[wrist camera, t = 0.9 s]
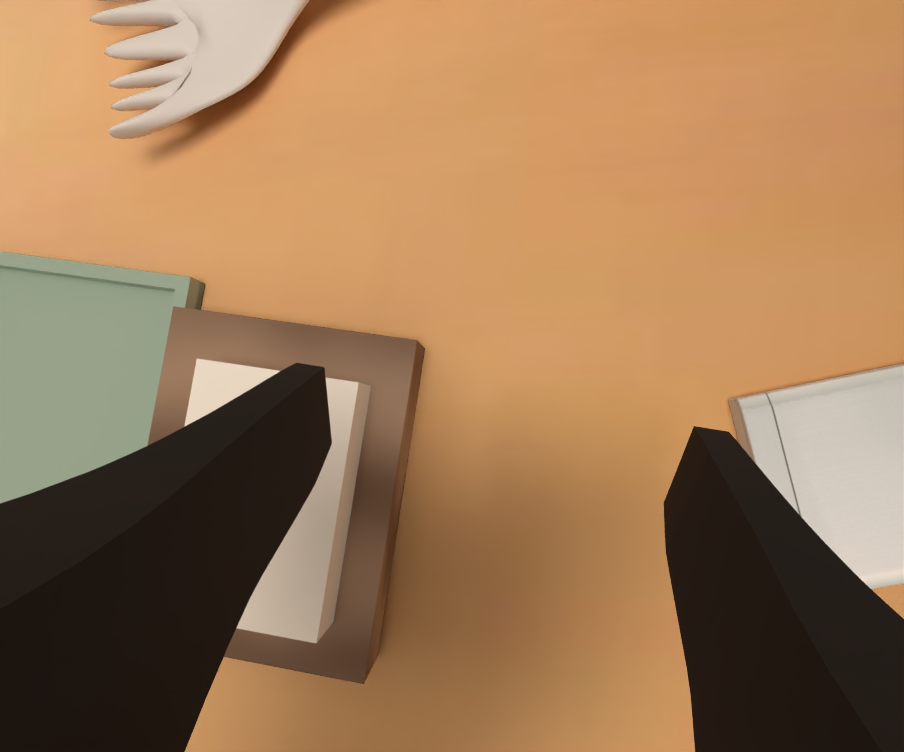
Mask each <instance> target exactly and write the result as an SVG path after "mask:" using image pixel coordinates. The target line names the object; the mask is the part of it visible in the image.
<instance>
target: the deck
mask: <svg viewBox="0 0 904 752" xmlns="http://www.w3.org/2000/svg"><path fill="white" fill-rule="evenodd" d="M424 351H425V348H424V347H423V346H422V345H421V344H420V343H419V342H418V341H417V340H411V339H404V338H397V337H390V336H382V335H375V334H368V333H361V332H354V331H347V330H340V329H332V328H325V327H318V326H311V325H304V324H297V323H290V322H282V321H275V320H268V319H261V318H254V317H247V316H240V315H232V314H225V313H218V312H211V311H204V310H197V309H190V308H182V307H175V306H173V310H172V316H171V321H170V327H169V332H168V337H167V343H166V348H165V354H164V359H163V364H162V370H161V375H160V381H159V386H158V391H157V397H156V402H155V408H154V413H153V418H152V424H151V429H150V434H149V440H148V445H150V444H152V443H154V442H156V441H158V440H160V439H162V438H164V437H166V436H168V435H170V434H172V433H173V432H175V431H177V430H179V429H181V428H183V427H184V426H185V420H186V415H187V409H188V404H189V398H190V393H191V387H192V382H193V376H194V371H195V365H196V360H197V359H204V360H211V361H217V362H224V363H231V364H238V365H244V366H251V367H258V368H265V369H271V370H278V371H282V370H283V369H285V368H287V367H289V366H291V365H293V364H295V363H302V364H308V365H315V366H321V367H325V377H326V378H332V379H339V380H346V381H353V382H359V383H363V384H366V385H370V386H371V390H370V396H369V402H368V409H367V415H366V421H365V427H364V434H363V440H362V446H361V452H360V459H359V465H358V471H357V477H356V484H355V490H354V496H353V502H352V509H351V515H350V521H349V527H348V534H347V540H346V546H345V552H344V559H343V565H342V571H341V577H340V584H339V590H338V596H337V602H336V609H335V615H334V621H333V623H332V624H331V626H330V627H329V628H328V629H327V631H326V632H325V633H324V635H323V636H322V637H321V638H320V640H319V641H318V642H317V643H311V642H306V641H301V640H295V639H290V638H285V637H280V636H274V635H269V634H264V633H259V632H253V631H248V630H243V629H237V628H236V630H235V632H234V634H233V637H232V639H231V641H230V643H229V645H228V648H227V650H226V652H225V655H224V657H228V658H233V659H238V660H244V661H249V662H254V663H259V664H264V665H269V666H274V667H279V668H285V669H290V670H295V671H300V672H305V673H310V674H315V675H320V676H326V677H331V678H336V679H341V680H346V681H351V682H356V683H361V684H364V682H365V680H366V678H367V676H368V674H369V672H370V670H371V668H372V666H373V664H374V662H375V660H376V658H377V656H378V650H379V643H380V637H381V630H382V624H383V617H384V611H385V604H386V598H387V591H388V585H389V578H390V572H391V565H392V559H393V552H394V546H395V539H396V533H397V526H398V520H399V514H400V507H401V501H402V494H403V488H404V481H405V475H406V468H407V462H408V455H409V449H410V442H411V436H412V429H413V423H414V416H415V410H416V403H417V397H418V390H419V384H420V377H421V371H422V364H423V358H424ZM148 445H147V446H148Z"/></svg>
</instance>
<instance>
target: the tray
mask: <svg viewBox="0 0 904 752" xmlns="http://www.w3.org/2000/svg"><path fill="white" fill-rule="evenodd" d="M204 287H205V284H204V283H202V282H200V281H198V280H196V279H193V278H191V277H186V276H178V275H171V274H163V273H156V272H149V271H141V270H134V269H126V268H119V267H112V266H104V265H97V264H89V263H82V262H75V261H67V260H60V259H52V258H45V257H37V256H30V255H23V254H15V253H8V252H0V503H3V502H6V501H9V500H12V499H15V498H19V497H21V496H24V495H27V494H30V493H33V492H36V491H38V490H41V489H44V488H46V487H49V486H52V485H54V484H57V483H60V482H62V481H65V480H68V479H70V478H73V477H76V476H78V475H81V474H84V473H86V472H89V471H92V470H94V469H96V468H99V467H101V466H104V465H106V464H108V463H110V462H113V461H115V460H117V459H120V458H122V457H124V456H126V455H129V454H131V453H133V452H135V451H137V450H140V449H142V448H144V447H146V446H147V445H148V440H149V434H150V429H151V424H152V418H153V413H154V408H155V402H156V397H157V391H158V386H159V381H160V375H161V370H162V364H163V359H164V354H165V348H166V343H167V337H168V332H169V327H170V321H171V316H172V310H173V306H175V307H182V308H190V309H197V310H200V309H201V304H202V298H203V293H204Z"/></svg>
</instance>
